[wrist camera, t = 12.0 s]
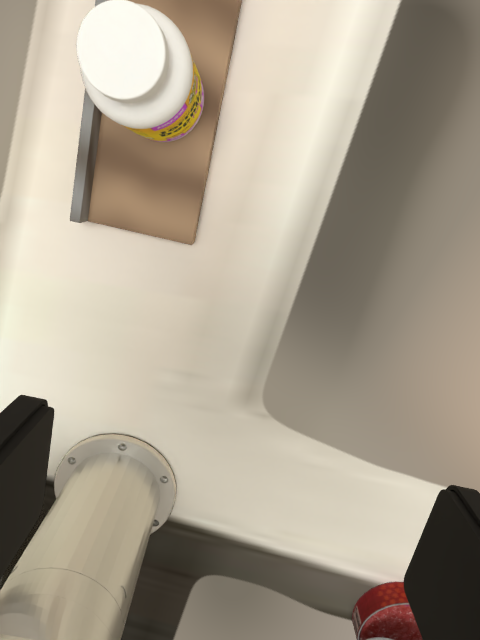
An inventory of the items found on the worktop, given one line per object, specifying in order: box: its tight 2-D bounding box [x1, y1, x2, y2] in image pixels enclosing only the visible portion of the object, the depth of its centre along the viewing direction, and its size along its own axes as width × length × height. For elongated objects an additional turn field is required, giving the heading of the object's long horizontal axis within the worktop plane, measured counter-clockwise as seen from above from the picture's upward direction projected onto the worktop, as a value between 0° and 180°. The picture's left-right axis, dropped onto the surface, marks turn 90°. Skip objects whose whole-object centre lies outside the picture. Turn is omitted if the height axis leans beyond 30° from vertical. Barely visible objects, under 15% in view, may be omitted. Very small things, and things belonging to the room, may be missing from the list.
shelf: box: [70, 0, 242, 245], centre depth 36 cm, size 22×10×4 cm, turn 167°
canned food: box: [352, 582, 423, 640], centre depth 50 cm, size 11×10×10 cm
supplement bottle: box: [76, 0, 204, 142], centre depth 30 cm, size 7×7×13 cm
